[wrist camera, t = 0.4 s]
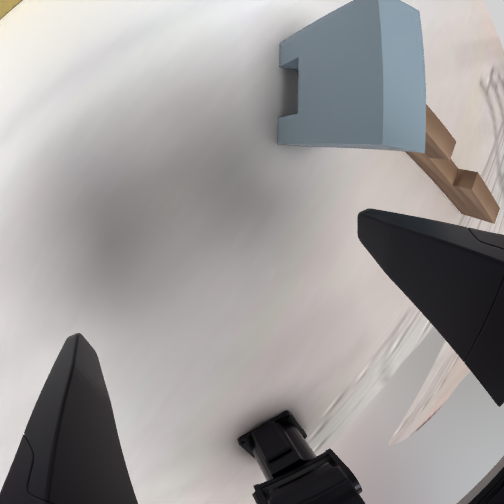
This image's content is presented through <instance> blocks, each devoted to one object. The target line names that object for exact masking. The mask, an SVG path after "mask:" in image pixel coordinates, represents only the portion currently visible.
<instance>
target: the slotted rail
mask: <svg viewBox="0 0 504 504" xmlns="http://www.w3.org/2000/svg"><path fill="white" fill-rule="evenodd" d="M455 144H456V141H455V139H454V138H453V137H452V135H451V134H450V133H449V131H448V130H447V129H446V128H445V126H444V125H443V124H442V123H441V121H440V120H439V119H438V118H437V116H436V115H435V114H434V113H433V112H432V110H431V109H430V108H429V107H428V106H427V105H426V138H425V153H417V152H406V151H405V152H406V153H407V154H408V155H409V156H410V157H411V158H412V159H413V160H414V161H415V162H416V163H417V164H418V165H419V166H420V167H421V168H422V169H423V170H424V171H425V172H426V173H427V174H428V175H429V177H430V178H431V179H432V180H433V181H434V182H435V183H436V184H437V185H438V186H439V188H440V189H441V190H442V191H443V192H444V193H445V194H446V196H447V197H448V198H449V199H450V200H451V201H452V203H453V204H454V205H455V206H456V207H457V209H458V210H459V211H460V212H461V213H462V214H464V215H467V216H471V217H474V218H477V219H481V220H484V221H487V222H490V223H494V224H495V221H496V218H497V215H498V212H499V209H500V208H499V206H498V204H497V203H496V201H495V199H494V198H493V196H492V194H491V193H490V191H489V189H488V188H487V186H486V185H485V183H484V181H483V180H482V178H481V177H480V175H479V174H478V172H473V171H468V170H462V169H458V168H457V166H456V165H455V164H454V163H453V161H452V160H451V159H450V158H451V155H452V153H453V150H454V147H455Z"/></svg>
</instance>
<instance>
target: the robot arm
mask: <svg viewBox="0 0 504 504" xmlns="http://www.w3.org/2000/svg"><path fill="white" fill-rule="evenodd" d="M358 238H359V240H360V241H361V243H362V244H363V245H364V247H365V248H366V249H367V250H368V252H369V253H370V254H371V255H372V257H373V258H374V259H375V260H376V262H377V263H378V264H379V266H380V267H381V268H382V269H383V271H384V272H385V273H386V274H387V275H388V276H389V278H390V279H391V280H392V281H393V282H394V283H395V284H396V285H397V286H398V287H399V288H400V289H401V290H402V291H403V293H404V294H405V295H406V296H407V297H408V298H409V299H410V300H411V301H412V302H413V303H414V305H415V306H416V307H417V308H418V309H419V310H420V311H421V312H422V313H423V315H424V316H425V317H426V318H427V319H428V320H429V321H430V322H431V324H432V325H433V326H434V327H435V328H436V329H437V330H438V332H439V333H440V334H441V335H442V336H443V338H445V340H446V341H447V342H448V343H449V345H450V346H451V347H452V348H453V349H454V351H455V352H456V353H457V354H458V355H459V357H460V358H461V359H462V360H463V361H464V363H465V364H466V365H467V367H468V368H469V369H470V370H471V372H472V373H473V374H474V375H475V376H476V378H477V379H478V380H479V382H480V383H481V384H482V386H483V387H484V388H485V389H486V391H487V392H488V393H489V395H490V396H491V397H492V399H493V400H494V401H495V403H496V404H497V405H498V406H499V407H500V406H501V405H502V404H503V403H504V235H502V234H496V233H491V232H486V231H482V230H477V229H473V228H467V227H463V226H459V225H454V224H449V223H445V222H440V221H435V220H430V219H425V218H420V217H415V216H409V215H404V214H399V213H393V212H387V211H382V210H376V209H366V210H364V211H361V212H360V213H359V214H358ZM24 434H25V435H23V437H22V439H21V442H20V445H19V447H18V450H17V453H16V455H15V458H14V461H13V463H12V465H11V468H10V470H9V473H8V475H7V477H6V480H5V482H4V485H3V487H2V490H1V492H0V504H138V502H137V499H136V496H135V493H134V490H133V487H132V484H131V481H130V477H129V474H128V471H127V467H126V464H125V460H124V456H123V453H122V449H121V445H120V441H119V437H118V433H117V429H116V424H115V420H114V415H113V410H112V406H111V401H110V398H109V394H108V391H107V388H106V385H105V381H104V378H103V374H102V371H101V367H100V363H99V359H98V356H97V354H96V352H95V350H94V349H93V348H92V346H91V345H90V344H89V343H88V342H87V340H86V339H85V338H84V337H83V335H82V334H80V333H77V334H74V335H72V336H69V337H68V338H67V339H66V341H65V343H64V345H63V347H62V349H61V351H60V353H59V355H58V357H57V359H56V361H55V363H54V365H53V367H52V369H51V372H50V374H49V376H48V378H47V380H46V382H45V384H44V387H43V389H42V391H41V393H40V396H39V398H38V400H37V402H36V405H35V407H34V409H33V412H32V414H31V417H30V419H29V422H28V424H27V427H26V429H25V432H24ZM306 437H307V435H306V433H305V432H304V430H303V429H302V428H301V426H300V425H299V424H298V422H297V421H296V420H295V418H294V417H293V416H292V414H291V413H290V412H289V411H286V412H284V413H282V414H280V415H279V416H277V417H276V418H274V419H272V420H271V421H269V422H267V423H265V424H264V425H262V426H260V427H259V428H257V429H255V430H253V431H252V432H250V433H248V434H246V435H244V436H243V437H241V438H239V439H238V443H239V445H240V446H242V447H243V448H244V449H245V450H246V451H247V452H248V453H250V454H251V455H252V456H253V457H254V458H255V459H256V460H257V462H258V464H259V466H260V468H261V470H262V472H263V474H264V476H265V478H266V480H267V481H266V482H264V483H261V484H257V485H255V486H254V489H255V492H254V493H253V494H252V495H253V497H254V499H255V501H256V503H257V504H365V502H364V501H363V499H362V498H361V497H360V495H359V494H360V493H361V492H362V488H361V486H360V484H359V482H358V480H357V479H356V477H355V476H354V474H353V473H352V472H351V471H350V469H349V468H348V467H347V466H346V465H345V464H344V463H343V462H342V461H341V460H340V459H339V458H338V456H337V455H336V454H335V453H334V452H333V451H332V450H331V449H328V450H326V452H324V453H323V454H321V455H319V456H316V455H315V454H314V452H313V451H312V449H311V448H310V446H309V445H308V443H307V442H306V440H305V438H306ZM457 504H504V456H503V457H502V459H501V460H500V461H499V462H498V463H497V464H496V465H495V466H494V468H493V469H492V470H491V471H490V472H489V473H488V474H487V475H486V476H485V477H484V478H483V479H482V480H481V481H480V482H479V483H478V484H477V485H476V486H475V487H474V488H473V489H472V490H471V491H470V492H469V493H468V494H467V495H466V496H465V497H464V498H462V499H461V500H460V501H459V502H458V503H457Z"/></svg>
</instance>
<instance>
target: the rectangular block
mask: <svg viewBox="0 0 504 504" xmlns="http://www.w3.org/2000/svg"><path fill="white" fill-rule="evenodd" d="M279 67H284V68H290V69H296V70H299V74H298V114H293V115H288V116H283V117H279V118H278V141H277V144H280V145H295V146H308V147H337V148H362V149H380V150H394V151H406V152H417V153H425V138H426V84H425V63H424V50H423V39H422V29H421V21H420V13H419V10H417V9H415V8H413V7H411V6H410V5H408V4H406V3H404V2H402V1H400V0H353V1H351V2H350V3H348V4H346V5H344V6H342V7H340V8H338V9H336V10H335V11H333V12H331V13H329V14H327V15H325V16H324V17H322V18H320V19H318V20H317V21H315V22H313V23H312V24H310V25H308V26H307V27H305V28H303V29H302V30H300V31H298V32H297V33H295V34H294V35H292V36H290V37H289V38H287V39H286V40H284V41H283V42H281V43H280V65H279Z"/></svg>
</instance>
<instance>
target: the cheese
mask: <svg viewBox="0 0 504 504" xmlns="http://www.w3.org/2000/svg"><path fill="white" fill-rule="evenodd" d="M20 1H21V0H0V19H1V18H2V17H3V16H4V15H5V14H6V13H7V12H9V11H10V10H11V9H12V8H13V7H14V6H15V5H17V4H18V3H19V2H20Z"/></svg>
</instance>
